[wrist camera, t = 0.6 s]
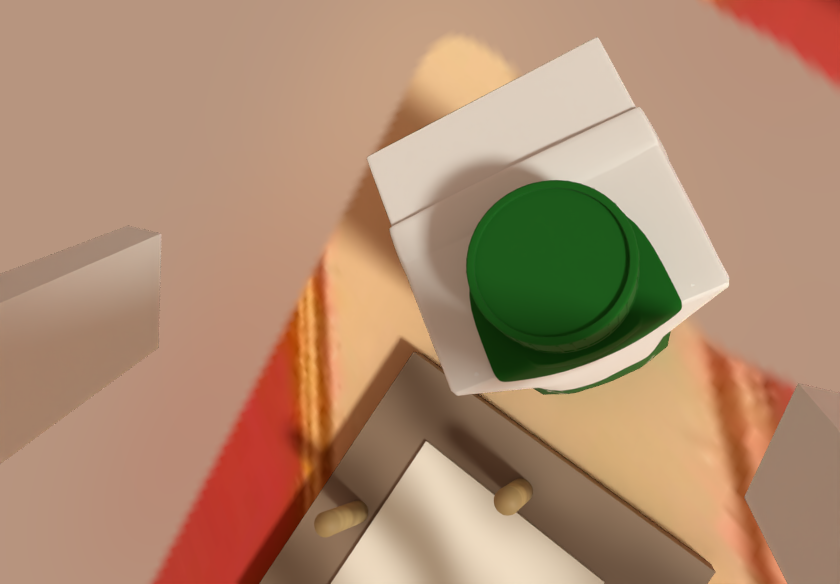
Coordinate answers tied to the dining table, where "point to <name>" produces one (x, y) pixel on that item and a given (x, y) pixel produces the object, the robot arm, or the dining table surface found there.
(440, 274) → the soya milk
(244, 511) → the dining table surface
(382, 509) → the pin base plate
